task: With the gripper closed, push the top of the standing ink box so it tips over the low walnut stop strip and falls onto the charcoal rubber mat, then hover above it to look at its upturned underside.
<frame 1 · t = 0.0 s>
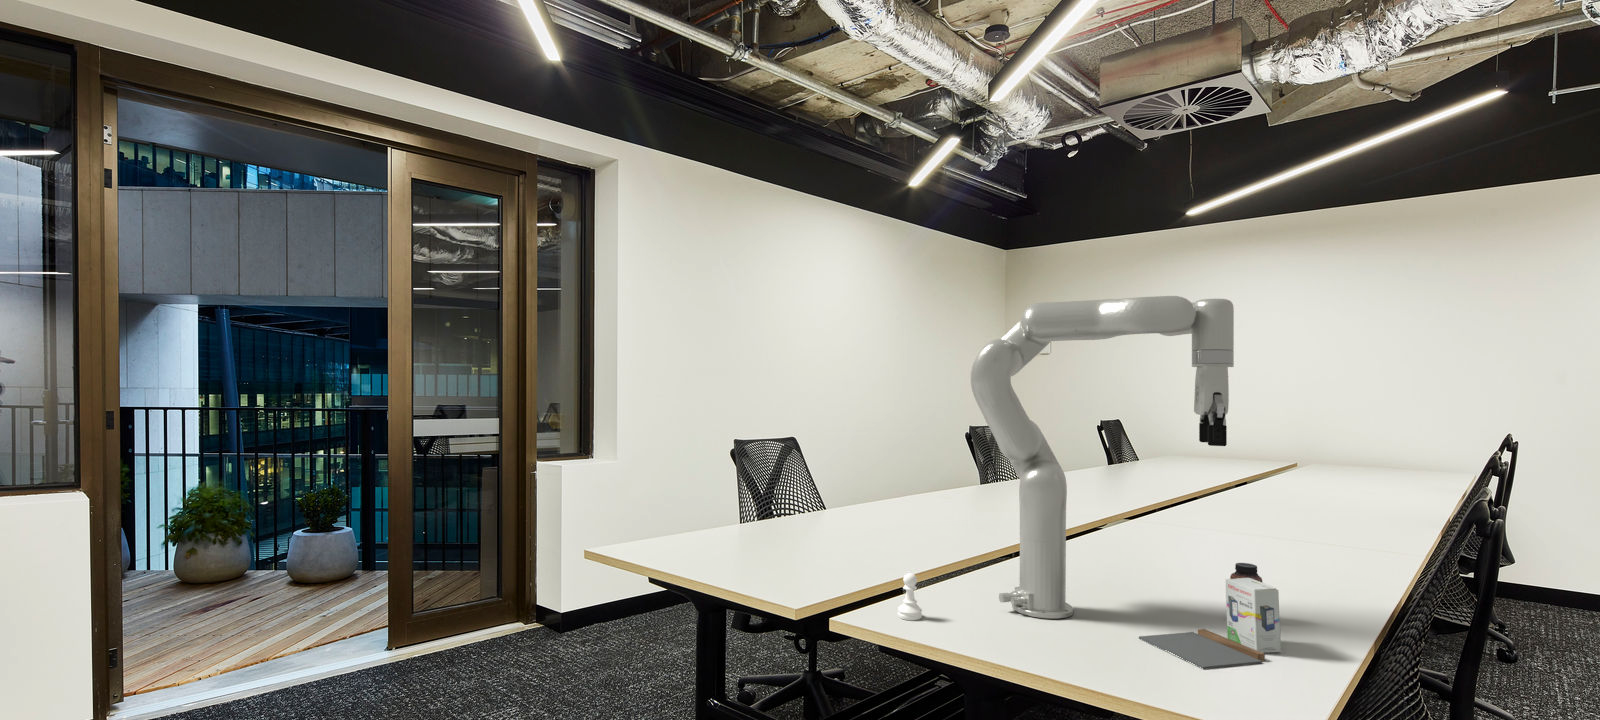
hand: (1212, 444, 153), 37 cm above the table, tool pointing down, fingers open, 9 cm apart
chess pawn: (909, 617, 157), on the table
ink box: (1252, 646, 143), on the table
supplement bottle: (1246, 619, 160), on the table
stop strip: (1229, 647, 142), on the table
mat: (1197, 650, 140), on the table
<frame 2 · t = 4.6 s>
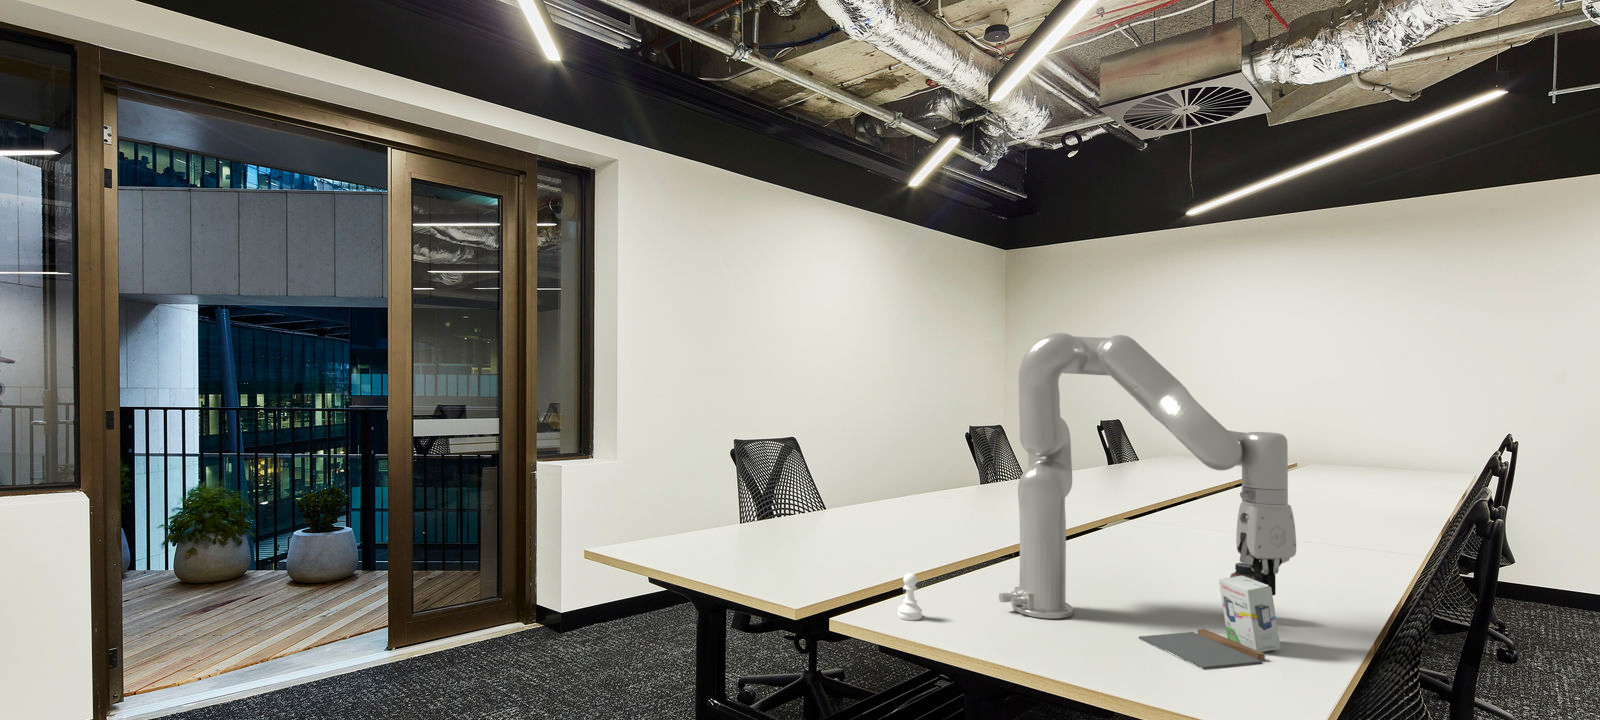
hand: (1264, 593, 144), 10 cm above the table, tool pointing down, fingers closed
ink box: (1252, 645, 143), on the table, touching gripper
everything else where it was.
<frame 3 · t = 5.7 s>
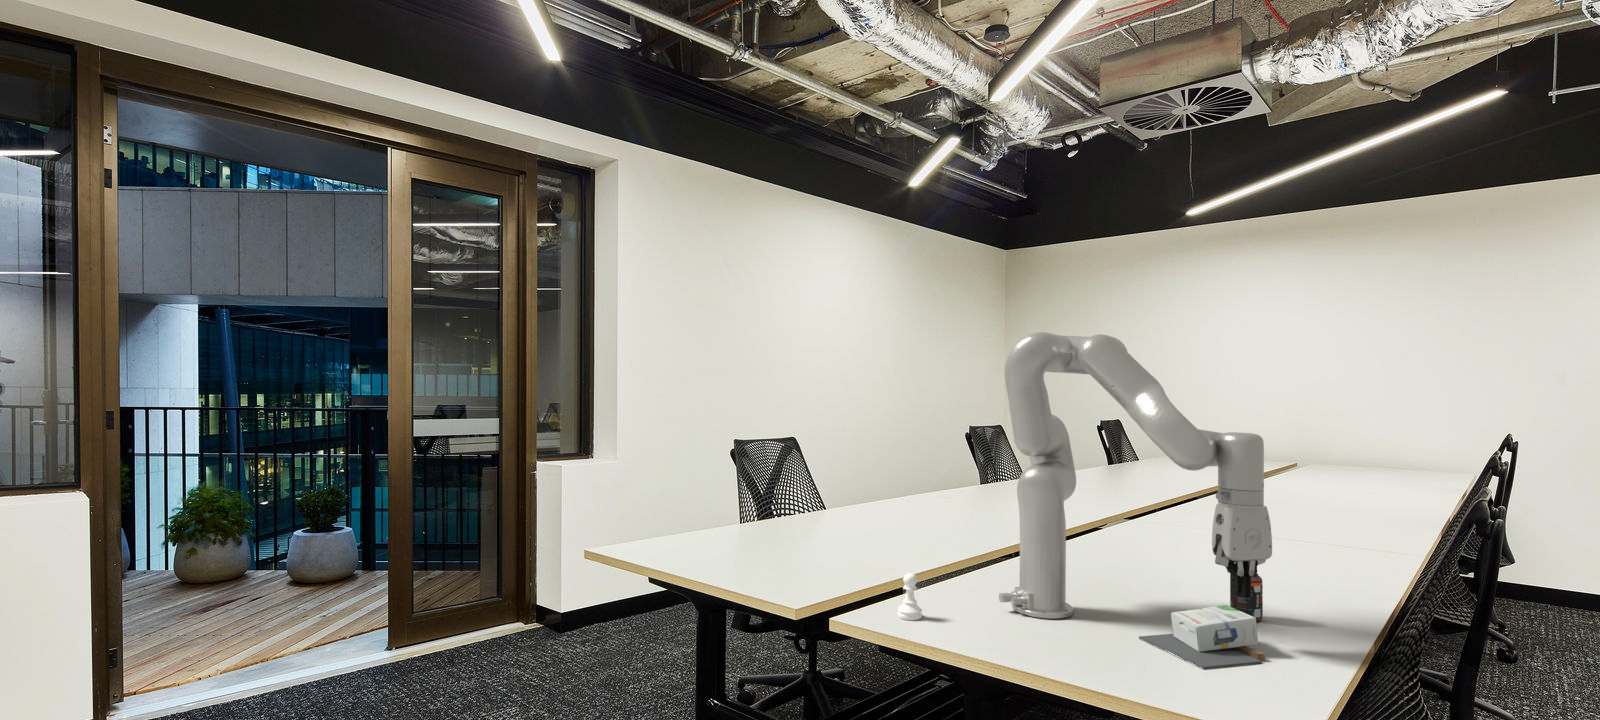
hand: (1240, 595, 143), 10 cm above the table, tool pointing down, fingers closed
ink box: (1243, 624, 143), point 4 cm above the table, touching mat, stop strip
everything else where it was.
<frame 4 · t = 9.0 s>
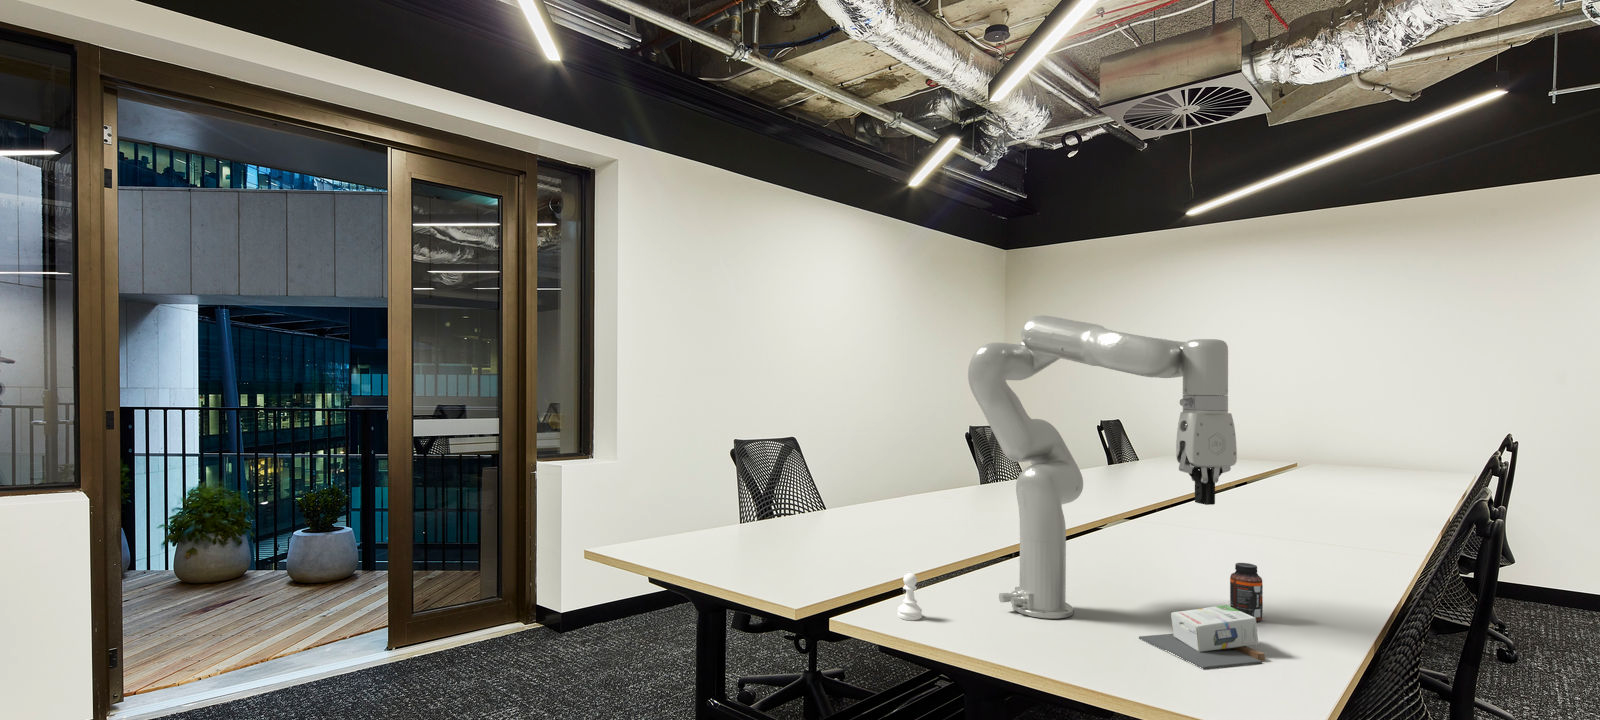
hand: (1204, 503, 141), 27 cm above the table, tool pointing down, fingers closed
nothing on the table moved.
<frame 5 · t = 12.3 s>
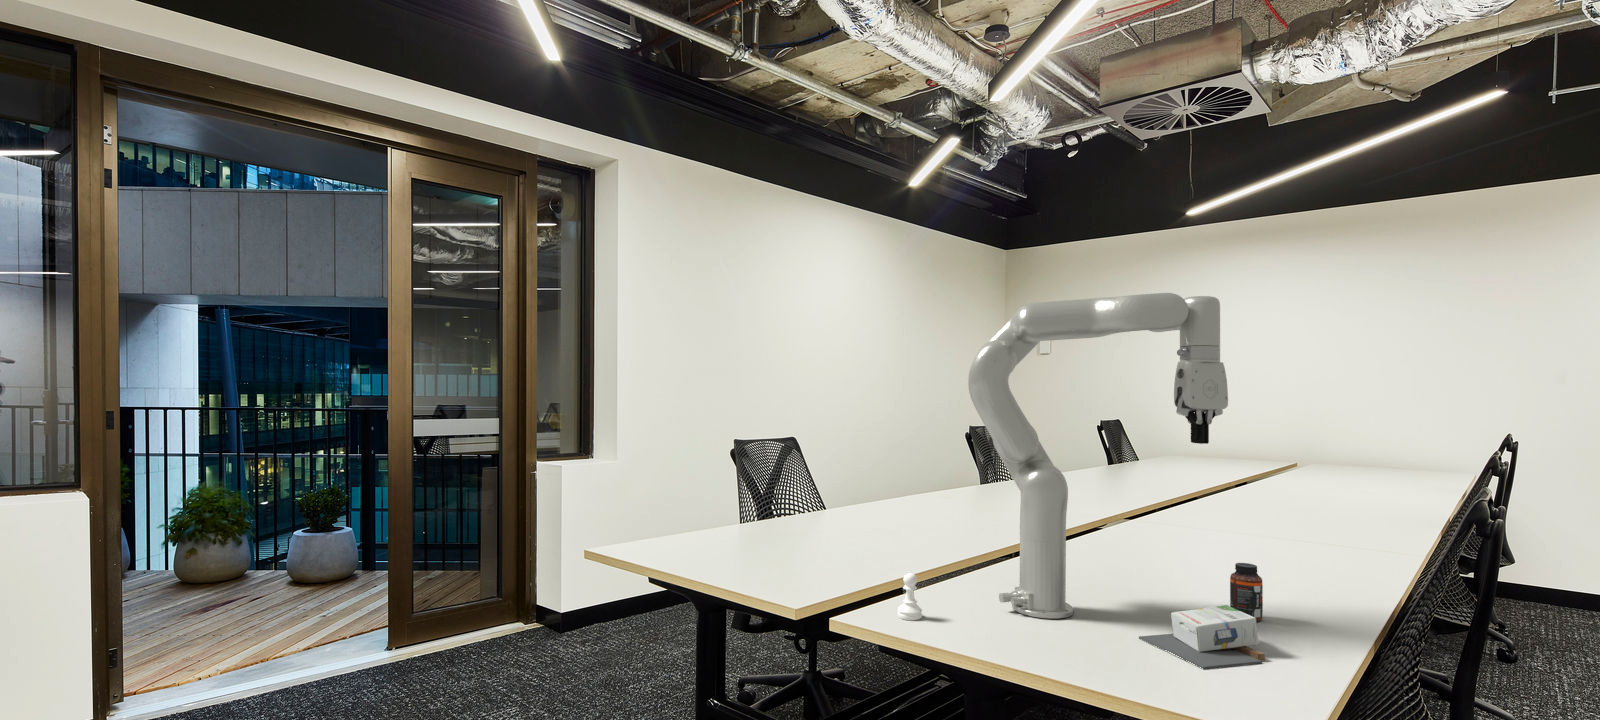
hand: (1199, 442, 158), 37 cm above the table, tool pointing down, fingers closed
nothing on the table moved.
at the end: ink box tilted 95°; ink box inside the target area (10.1 cm from its centre), point 4.0 cm above the table; ink box moved 4.5 cm from its start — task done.
